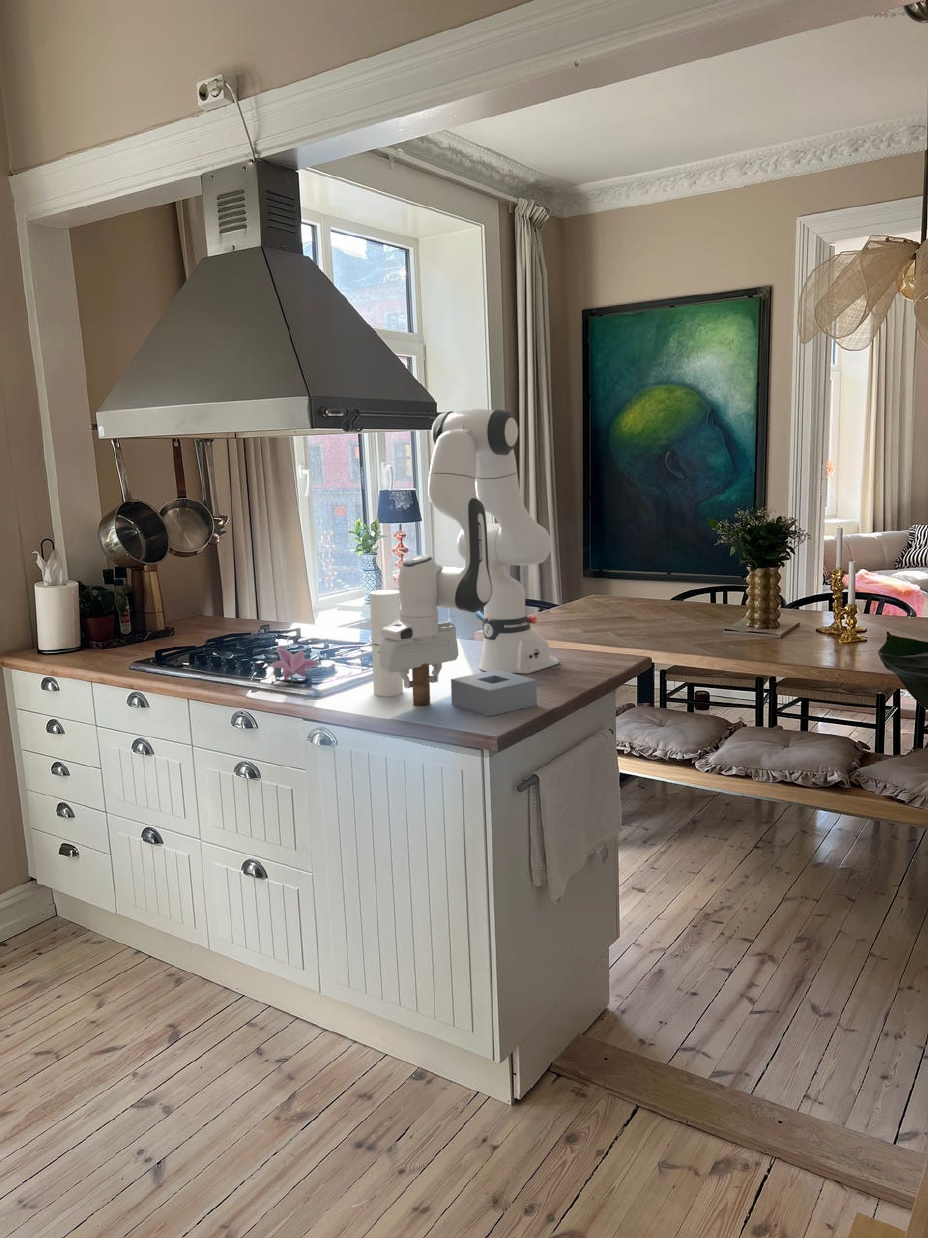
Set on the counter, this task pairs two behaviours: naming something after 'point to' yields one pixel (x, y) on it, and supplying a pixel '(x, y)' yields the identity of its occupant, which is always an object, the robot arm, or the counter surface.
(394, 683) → the cylindrical container
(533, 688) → the socket block
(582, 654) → the counter surface
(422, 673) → the walnut peg
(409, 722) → the counter surface
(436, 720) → the counter surface
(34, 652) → the counter surface
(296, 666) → the lily
